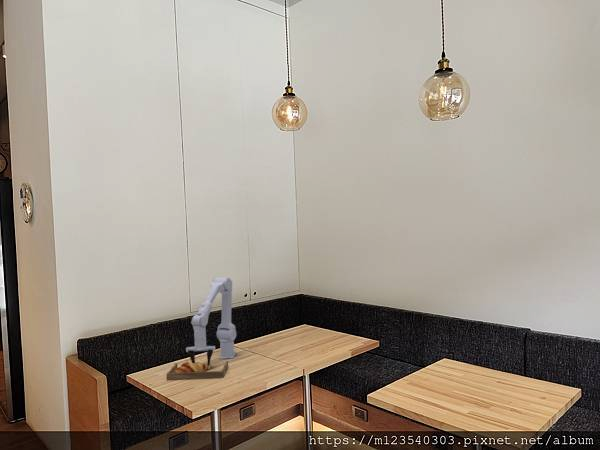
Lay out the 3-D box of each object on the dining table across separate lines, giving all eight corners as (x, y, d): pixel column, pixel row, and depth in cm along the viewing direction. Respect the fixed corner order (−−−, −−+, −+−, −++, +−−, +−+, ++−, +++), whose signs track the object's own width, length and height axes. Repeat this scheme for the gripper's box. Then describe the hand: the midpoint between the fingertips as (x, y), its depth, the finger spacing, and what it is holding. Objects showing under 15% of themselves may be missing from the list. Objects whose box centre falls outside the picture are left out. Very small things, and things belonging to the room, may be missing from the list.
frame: (176, 369, 227) (175, 363, 227) (228, 366, 227) (228, 361, 227) (166, 380, 212) (166, 374, 212) (222, 377, 212) (222, 371, 212)
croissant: (207, 375, 228) (204, 359, 231) (216, 370, 221) (212, 354, 224) (168, 385, 215) (164, 368, 218) (175, 380, 208) (172, 363, 211)
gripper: (184, 341, 222) (185, 368, 222) (212, 340, 222) (214, 367, 222) (187, 337, 229) (188, 363, 229) (215, 336, 229) (216, 362, 229)
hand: (201, 365), depth 226 cm, fingers open, 7 cm apart
